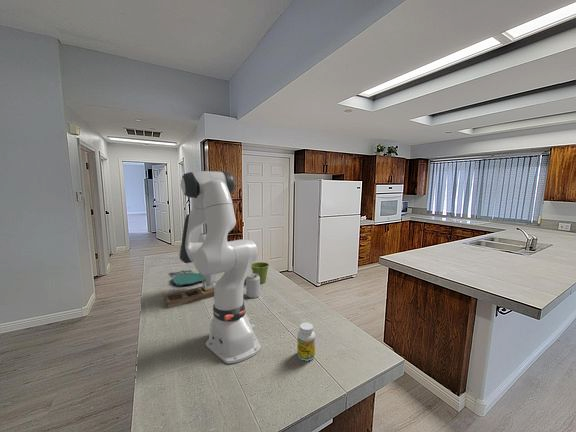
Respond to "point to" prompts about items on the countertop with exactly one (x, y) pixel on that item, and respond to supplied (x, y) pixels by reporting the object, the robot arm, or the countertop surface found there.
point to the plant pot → (260, 270)
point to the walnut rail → (187, 296)
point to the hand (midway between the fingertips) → (207, 285)
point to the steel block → (206, 285)
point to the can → (253, 285)
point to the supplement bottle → (306, 342)
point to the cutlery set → (186, 278)
